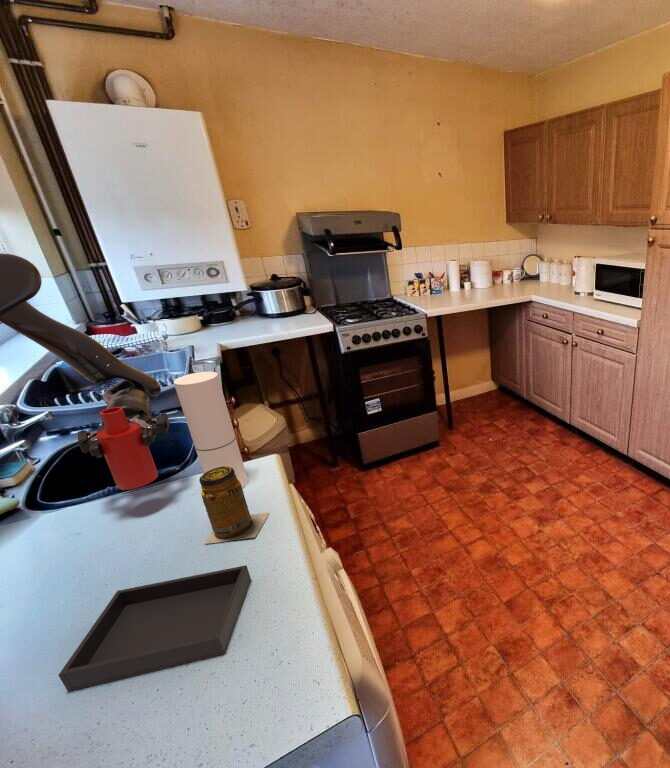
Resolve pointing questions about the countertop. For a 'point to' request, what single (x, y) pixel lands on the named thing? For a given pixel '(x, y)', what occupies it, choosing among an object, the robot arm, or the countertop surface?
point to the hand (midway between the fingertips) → (122, 446)
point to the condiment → (228, 507)
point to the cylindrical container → (210, 422)
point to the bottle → (125, 450)
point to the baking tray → (159, 627)
